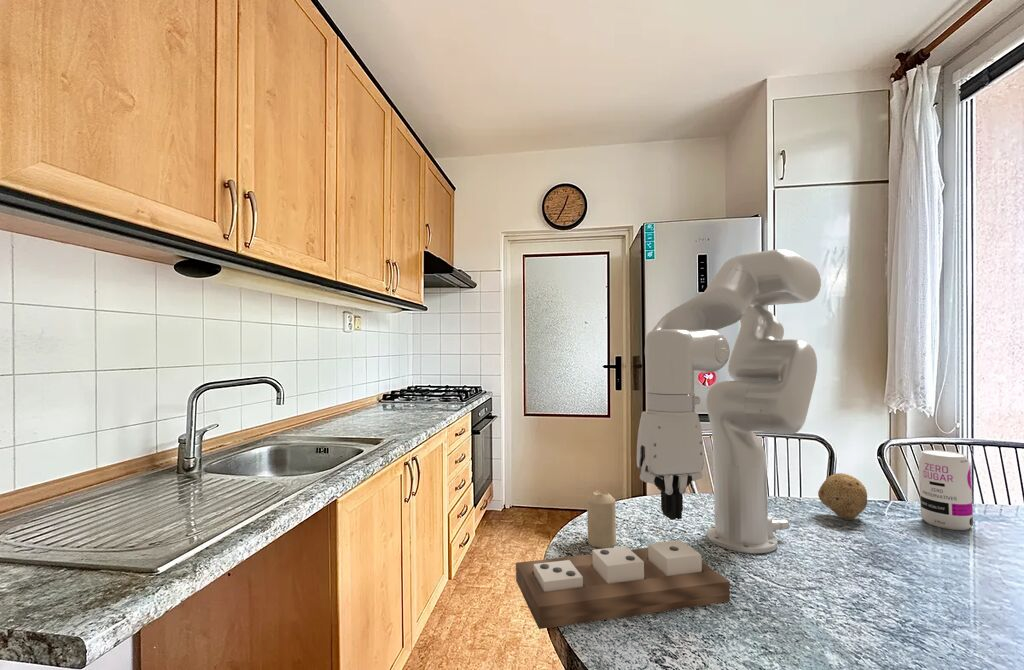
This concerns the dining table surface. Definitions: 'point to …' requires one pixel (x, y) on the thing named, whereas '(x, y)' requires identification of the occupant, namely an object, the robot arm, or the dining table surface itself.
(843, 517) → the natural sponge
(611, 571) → the tile two
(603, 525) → the candle
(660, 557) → the tile one
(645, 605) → the panel
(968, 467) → the supplement can
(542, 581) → the tile three
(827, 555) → the dining table surface
